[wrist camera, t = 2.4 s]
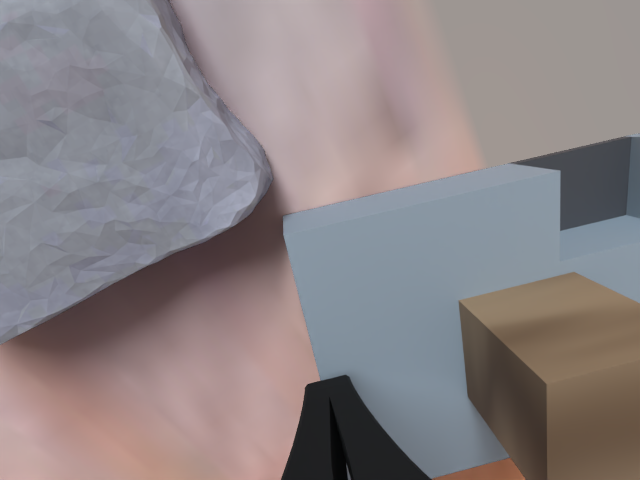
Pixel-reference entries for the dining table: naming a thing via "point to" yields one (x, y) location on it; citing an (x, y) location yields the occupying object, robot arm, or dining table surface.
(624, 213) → the board
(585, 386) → the walnut cube
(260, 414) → the dining table surface
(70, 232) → the stone block
